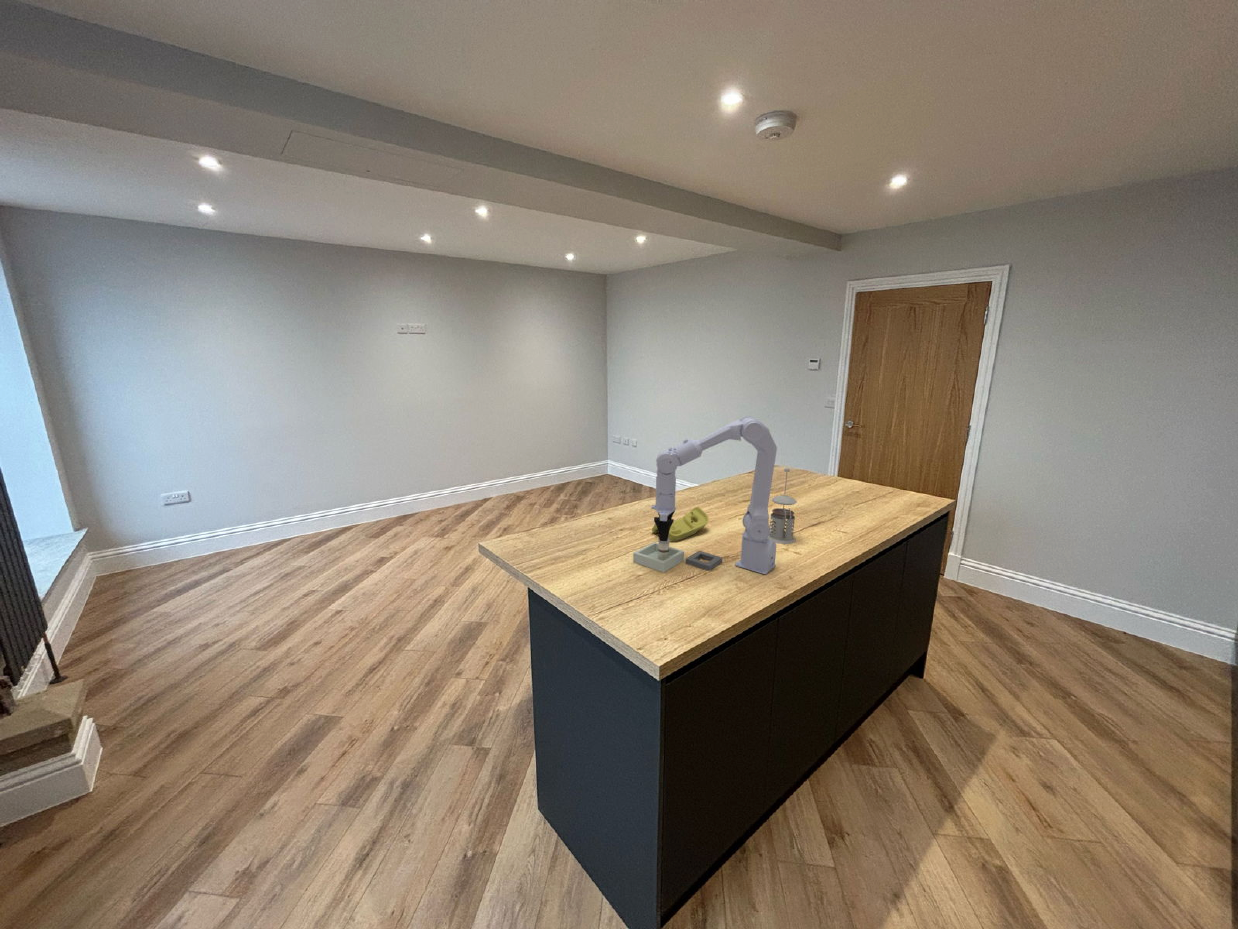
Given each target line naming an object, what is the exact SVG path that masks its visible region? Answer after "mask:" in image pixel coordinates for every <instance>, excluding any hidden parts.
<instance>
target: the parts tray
mask: <svg viewBox="0 0 1238 929" xmlns="http://www.w3.org/2000/svg"><path fill="white" fill-rule="evenodd" d="M658 544H659V542H656V541H653V542H651V543H650V544H648V545H646V546H644V547H641V548H640V549H638V550H635V551H634V552H633V553H632V563H635V564H638V565H641V566H643V567H645V568H649V569H653V570H655V571H658V572H660V573H666V572H667V571H669V570H670V569H672V568H674V567H675V566H677V565H679V564H681V563H682V562H684V561H685V551H684V550H682V549H679V548H676V547H672V546H669V558H667V559H665V560H664V561H662V560H659V559H658Z"/></svg>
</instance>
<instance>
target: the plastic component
mask: <svg viewBox="0 0 1238 929" xmlns="http://www.w3.org/2000/svg"><path fill="white" fill-rule="evenodd" d="M709 520H710V517H709V516H708V514H707V513H706V512H705V511H704V510H703V509H702V508H701V507H700V506H695V507H694V508H692V510H690V511H689V512H687V513H685V514H684V515H683V516H682V517H680V518H677V519H674V522H673V524H672V525H671V527H670V531H669V535H668V538H669V539H670V542H678V541H681V540H683V539H685V538H688V537H691V536H692V535H694V534H695V535H696V534H697V531H699V530H702V529H703V528H704V527H705V526H706V525H707V524H708V523H709ZM651 532H652V533H654V534H658V529H657V526H656V524H655V523H654V524H653V526H652V529H651Z"/></svg>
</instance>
